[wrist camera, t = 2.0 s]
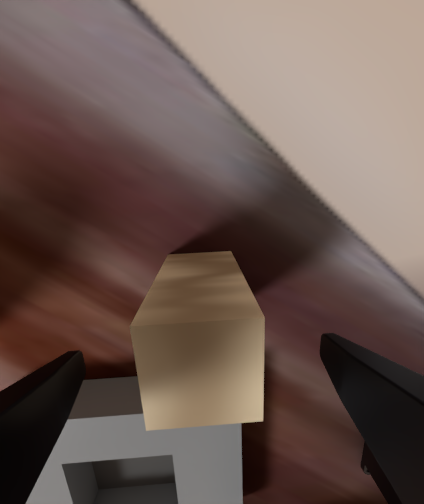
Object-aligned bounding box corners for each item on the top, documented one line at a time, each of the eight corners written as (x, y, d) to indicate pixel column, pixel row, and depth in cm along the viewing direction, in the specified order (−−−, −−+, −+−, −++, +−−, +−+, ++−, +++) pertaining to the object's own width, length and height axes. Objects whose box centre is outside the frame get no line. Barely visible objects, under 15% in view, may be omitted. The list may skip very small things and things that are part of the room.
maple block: (231, 251, 15) (264, 317, 7) (232, 307, 16) (263, 421, 8) (168, 254, 14) (129, 326, 7) (173, 311, 15) (146, 430, 8)
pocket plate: (234, 369, 17) (241, 405, 14) (237, 499, 20) (243, 550, 17) (11, 385, 16) (-30, 427, 13) (55, 516, 20) (30, 571, 17)
